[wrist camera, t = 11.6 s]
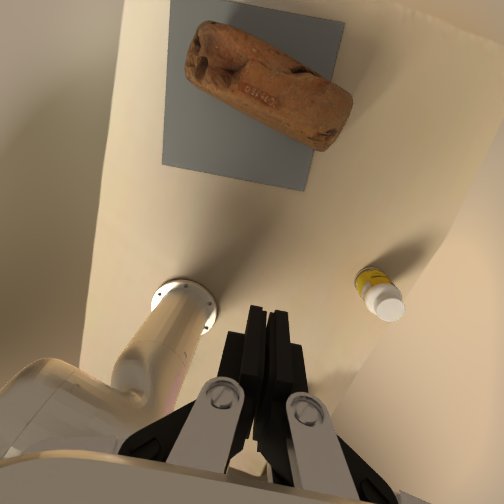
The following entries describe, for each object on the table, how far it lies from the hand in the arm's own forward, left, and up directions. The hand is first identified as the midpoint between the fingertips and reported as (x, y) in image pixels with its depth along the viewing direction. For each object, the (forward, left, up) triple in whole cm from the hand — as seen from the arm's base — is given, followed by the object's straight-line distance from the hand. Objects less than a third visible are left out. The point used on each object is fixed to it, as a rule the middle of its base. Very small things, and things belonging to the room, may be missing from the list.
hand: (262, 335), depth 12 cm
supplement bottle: (-11, -20, -35) cm, 42 cm away
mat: (+13, +6, -35) cm, 38 cm away
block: (+12, -7, -29) cm, 32 cm away
